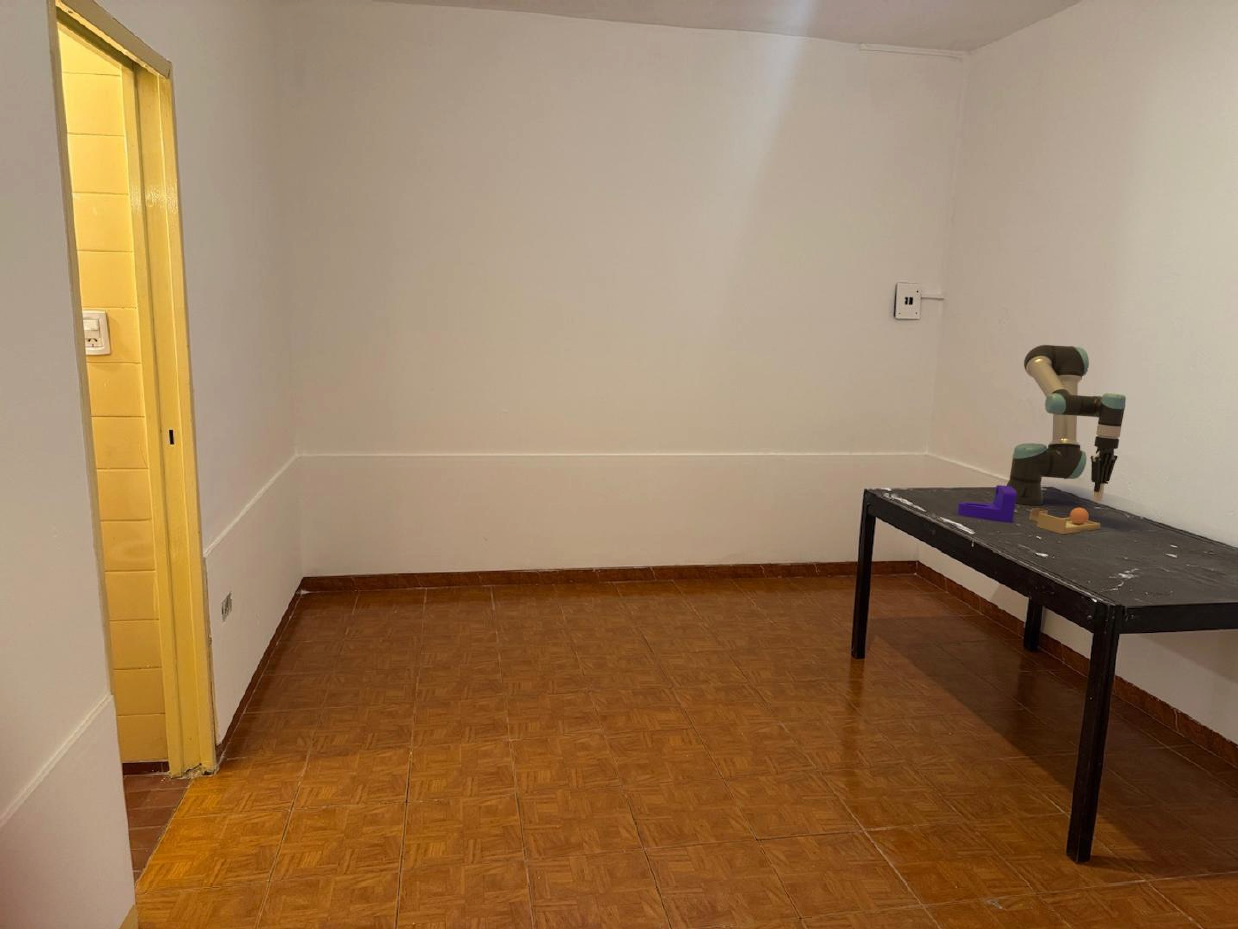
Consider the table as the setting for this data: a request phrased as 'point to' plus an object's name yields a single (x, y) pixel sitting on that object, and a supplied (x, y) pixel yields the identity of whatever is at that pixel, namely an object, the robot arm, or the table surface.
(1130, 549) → the table surface
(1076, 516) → the ball
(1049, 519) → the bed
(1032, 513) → the open wooden box
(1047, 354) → the robot arm
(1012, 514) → the bracket
